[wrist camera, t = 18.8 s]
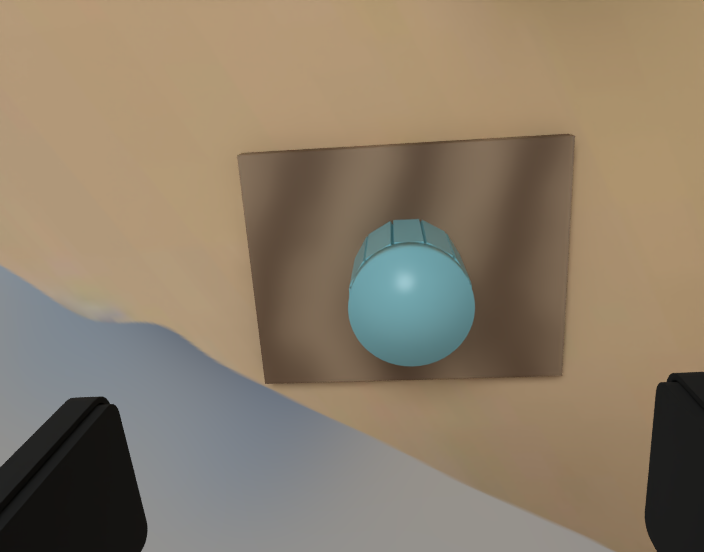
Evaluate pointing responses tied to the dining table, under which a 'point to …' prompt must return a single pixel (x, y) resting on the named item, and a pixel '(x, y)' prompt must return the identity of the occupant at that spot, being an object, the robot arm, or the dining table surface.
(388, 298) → the cap
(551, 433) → the dining table surface
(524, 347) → the post board
